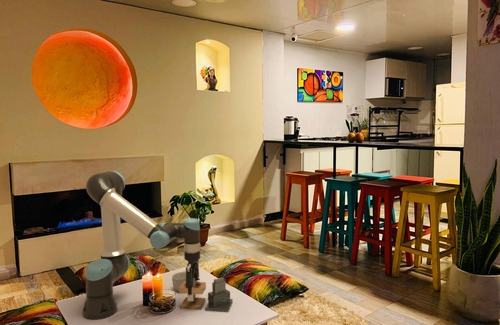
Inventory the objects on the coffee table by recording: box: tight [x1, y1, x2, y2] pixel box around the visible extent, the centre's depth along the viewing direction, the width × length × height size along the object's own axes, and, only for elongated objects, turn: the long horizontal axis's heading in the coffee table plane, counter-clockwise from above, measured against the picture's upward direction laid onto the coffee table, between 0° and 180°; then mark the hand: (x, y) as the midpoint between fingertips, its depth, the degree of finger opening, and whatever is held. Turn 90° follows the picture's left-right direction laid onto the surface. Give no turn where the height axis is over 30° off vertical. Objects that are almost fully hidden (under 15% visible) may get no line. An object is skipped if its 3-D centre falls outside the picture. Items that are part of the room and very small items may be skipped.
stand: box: [179, 278, 207, 311], centre depth 188 cm, size 10×10×13 cm
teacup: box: [171, 270, 186, 292], centre depth 208 cm, size 14×11×8 cm
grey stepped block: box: [204, 277, 233, 313], centre depth 186 cm, size 11×11×14 cm
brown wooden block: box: [178, 281, 207, 295], centre depth 187 cm, size 11×7×3 cm, turn 82°
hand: (192, 297), depth 188 cm, fingers closed on brown wooden block, 7 cm apart
